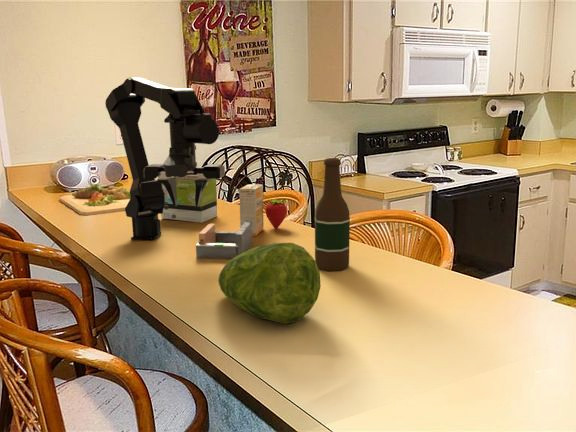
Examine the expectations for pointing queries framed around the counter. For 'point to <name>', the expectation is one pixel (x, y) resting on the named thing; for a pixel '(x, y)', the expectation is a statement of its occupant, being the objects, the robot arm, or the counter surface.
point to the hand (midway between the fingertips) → (186, 206)
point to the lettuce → (272, 282)
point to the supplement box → (252, 206)
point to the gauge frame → (227, 244)
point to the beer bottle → (332, 222)
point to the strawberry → (276, 212)
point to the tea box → (191, 201)
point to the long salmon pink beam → (207, 234)
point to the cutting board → (97, 200)
